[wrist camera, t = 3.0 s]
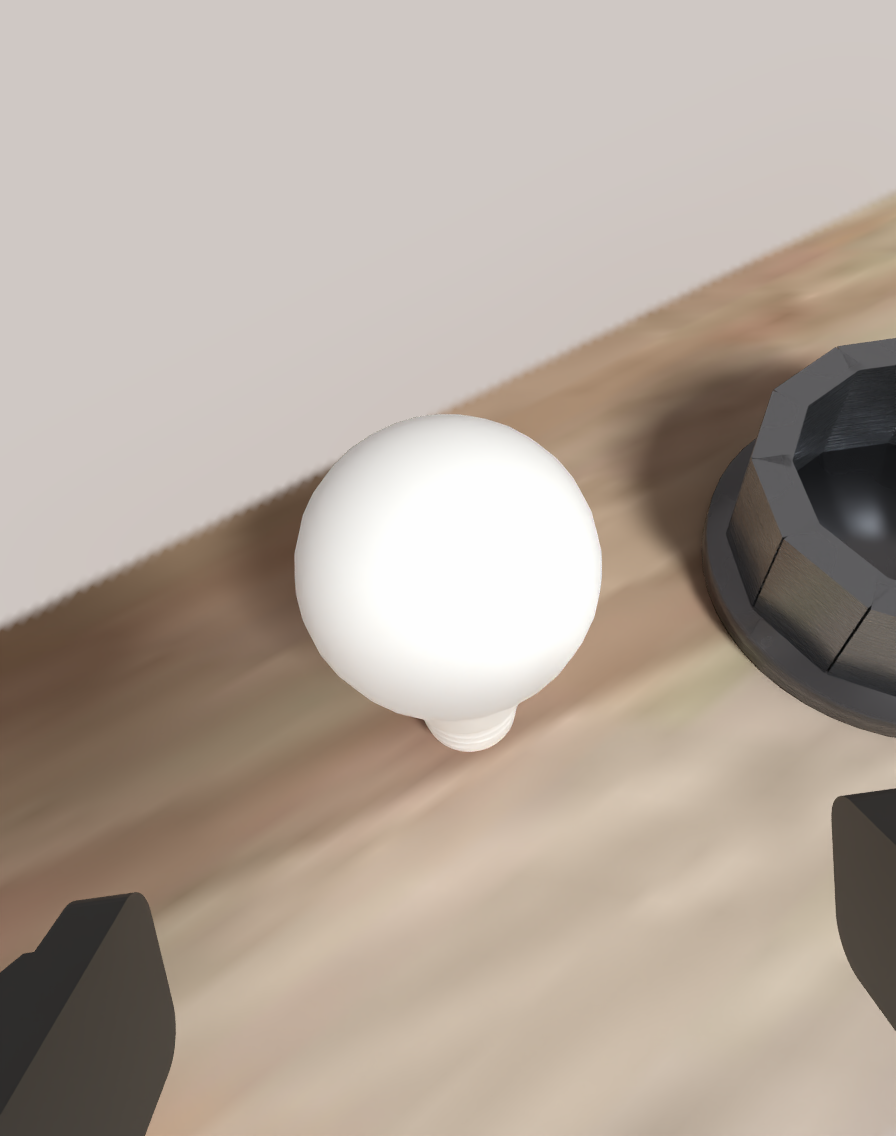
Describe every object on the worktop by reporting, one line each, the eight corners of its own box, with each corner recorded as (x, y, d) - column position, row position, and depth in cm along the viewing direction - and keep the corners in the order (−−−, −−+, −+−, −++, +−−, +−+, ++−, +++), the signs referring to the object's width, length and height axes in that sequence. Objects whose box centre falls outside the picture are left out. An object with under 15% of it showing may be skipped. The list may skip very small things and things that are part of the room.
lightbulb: (413, 599, 26) (348, 319, 17) (608, 659, 24) (654, 385, 15) (327, 783, 23) (191, 566, 14) (541, 863, 22) (548, 680, 12)
